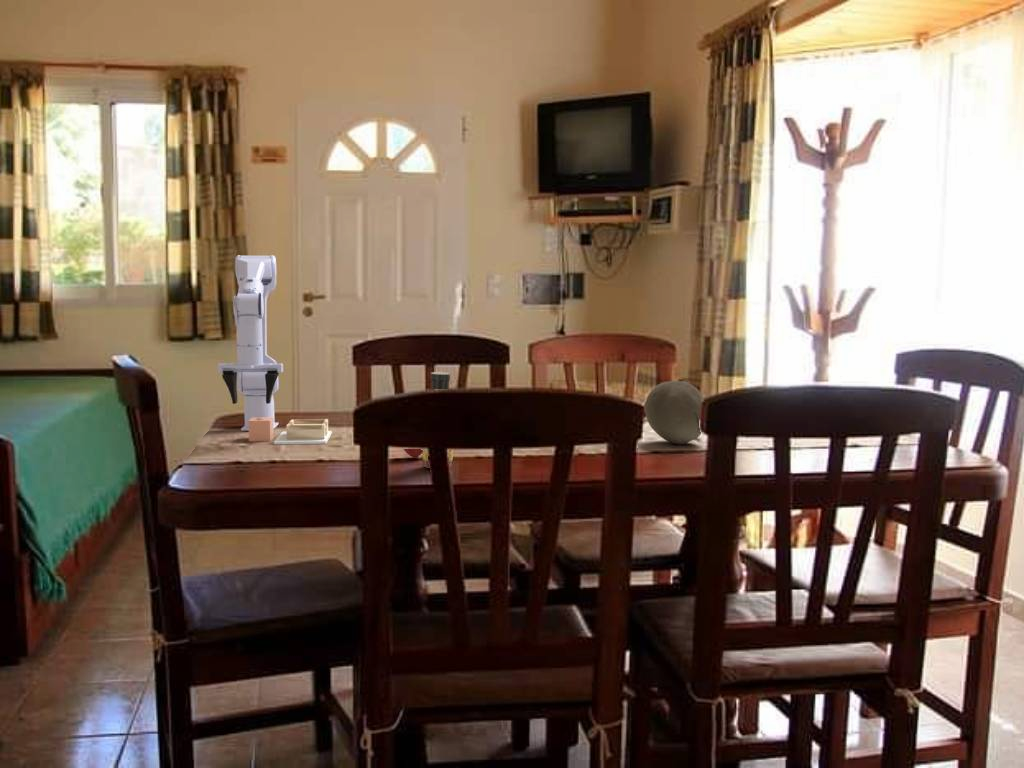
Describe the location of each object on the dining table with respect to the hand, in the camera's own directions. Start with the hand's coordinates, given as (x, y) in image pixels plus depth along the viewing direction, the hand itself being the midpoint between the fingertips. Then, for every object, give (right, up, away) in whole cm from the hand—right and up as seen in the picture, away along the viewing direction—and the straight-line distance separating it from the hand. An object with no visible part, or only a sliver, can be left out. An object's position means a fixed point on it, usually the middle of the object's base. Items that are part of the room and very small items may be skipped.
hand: (251, 403), depth 224 cm
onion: (+40, -12, -15) cm, 44 cm away
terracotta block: (+1, -9, +6) cm, 11 cm away
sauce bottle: (+46, -13, -25) cm, 54 cm away
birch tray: (+12, -9, +7) cm, 16 cm away
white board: (+11, -9, +7) cm, 15 cm away
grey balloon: (+99, -10, +3) cm, 100 cm away
